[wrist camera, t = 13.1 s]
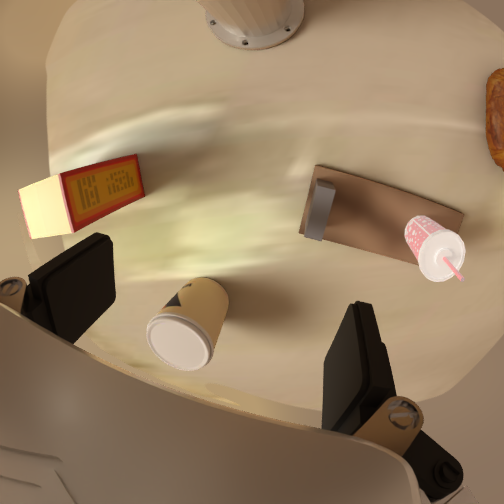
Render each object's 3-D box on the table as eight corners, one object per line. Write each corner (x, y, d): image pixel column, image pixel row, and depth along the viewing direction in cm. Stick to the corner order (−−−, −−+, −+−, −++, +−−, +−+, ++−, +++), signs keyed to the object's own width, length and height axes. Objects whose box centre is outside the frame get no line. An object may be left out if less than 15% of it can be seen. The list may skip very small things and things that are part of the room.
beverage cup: (409, 258, 37) (447, 316, 24) (389, 224, 35) (427, 274, 23) (442, 234, 34) (491, 283, 22) (424, 199, 33) (476, 238, 20)
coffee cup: (191, 261, 43) (155, 303, 33) (245, 293, 44) (223, 345, 33) (171, 302, 48) (137, 347, 37) (218, 331, 48) (195, 382, 37)
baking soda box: (99, 204, 43) (28, 240, 28) (91, 166, 40) (15, 191, 26) (145, 196, 41) (72, 233, 26) (136, 153, 38) (57, 174, 24)
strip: (315, 164, 34) (316, 170, 29) (461, 212, 32) (481, 226, 27) (299, 231, 38) (296, 247, 33) (439, 269, 36) (454, 289, 31)
